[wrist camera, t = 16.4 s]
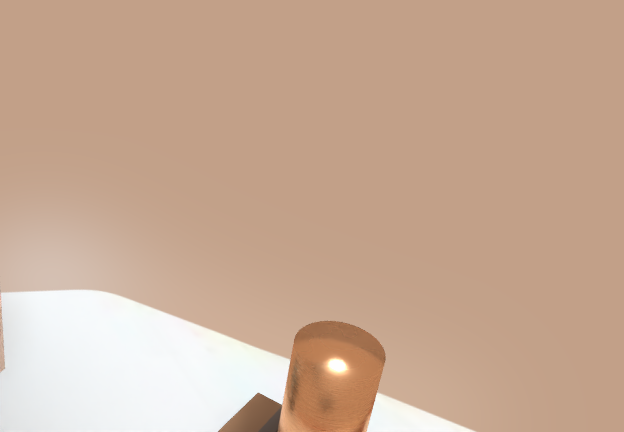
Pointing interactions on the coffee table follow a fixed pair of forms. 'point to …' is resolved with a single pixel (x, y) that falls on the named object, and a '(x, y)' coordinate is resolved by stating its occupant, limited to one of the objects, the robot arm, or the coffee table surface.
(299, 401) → the brushed copper cylinder
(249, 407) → the duct base
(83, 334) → the coffee table surface
